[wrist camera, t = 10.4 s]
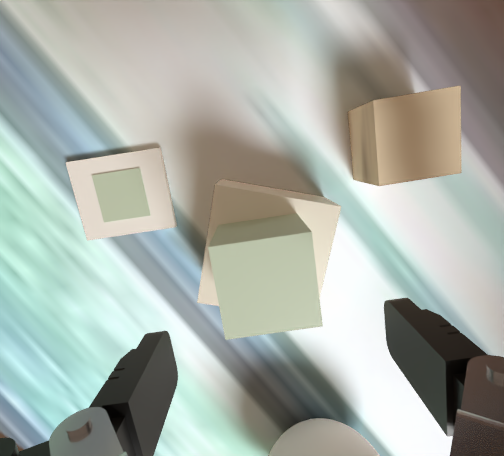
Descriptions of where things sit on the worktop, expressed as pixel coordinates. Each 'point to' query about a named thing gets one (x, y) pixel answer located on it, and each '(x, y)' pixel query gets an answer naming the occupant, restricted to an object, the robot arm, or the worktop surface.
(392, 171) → the birch cube
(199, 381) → the worktop surface
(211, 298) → the base block
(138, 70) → the worktop surface
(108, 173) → the card
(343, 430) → the ornament
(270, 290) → the sage cube
